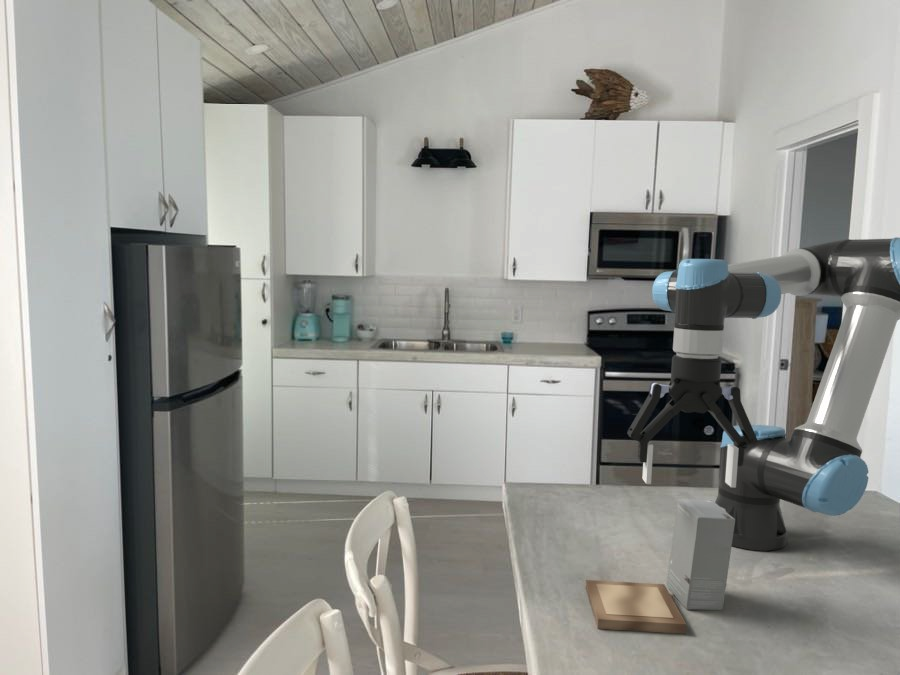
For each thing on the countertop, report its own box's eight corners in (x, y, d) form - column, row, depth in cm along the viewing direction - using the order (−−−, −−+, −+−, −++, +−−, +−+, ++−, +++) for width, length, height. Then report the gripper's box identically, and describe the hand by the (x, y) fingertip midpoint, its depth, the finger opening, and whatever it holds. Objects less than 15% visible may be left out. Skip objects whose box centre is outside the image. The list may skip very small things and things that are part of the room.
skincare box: (665, 587, 117) (671, 497, 115) (705, 586, 117) (712, 497, 116) (686, 612, 108) (693, 515, 107) (729, 611, 109) (737, 515, 107)
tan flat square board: (663, 592, 115) (664, 583, 114) (685, 633, 102) (686, 623, 101) (585, 588, 115) (586, 579, 115) (597, 628, 102) (598, 618, 102)
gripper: (765, 354, 113) (756, 479, 115) (614, 349, 114) (607, 473, 116) (785, 360, 106) (775, 493, 108) (623, 355, 107) (616, 487, 109)
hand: (688, 483), depth 112 cm, fingers open, 13 cm apart
